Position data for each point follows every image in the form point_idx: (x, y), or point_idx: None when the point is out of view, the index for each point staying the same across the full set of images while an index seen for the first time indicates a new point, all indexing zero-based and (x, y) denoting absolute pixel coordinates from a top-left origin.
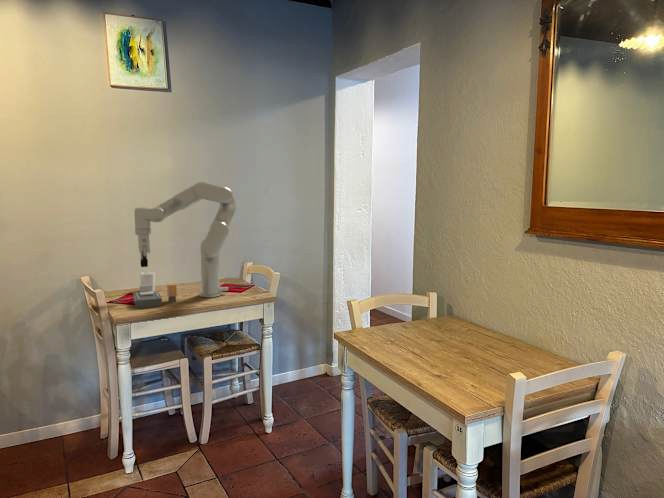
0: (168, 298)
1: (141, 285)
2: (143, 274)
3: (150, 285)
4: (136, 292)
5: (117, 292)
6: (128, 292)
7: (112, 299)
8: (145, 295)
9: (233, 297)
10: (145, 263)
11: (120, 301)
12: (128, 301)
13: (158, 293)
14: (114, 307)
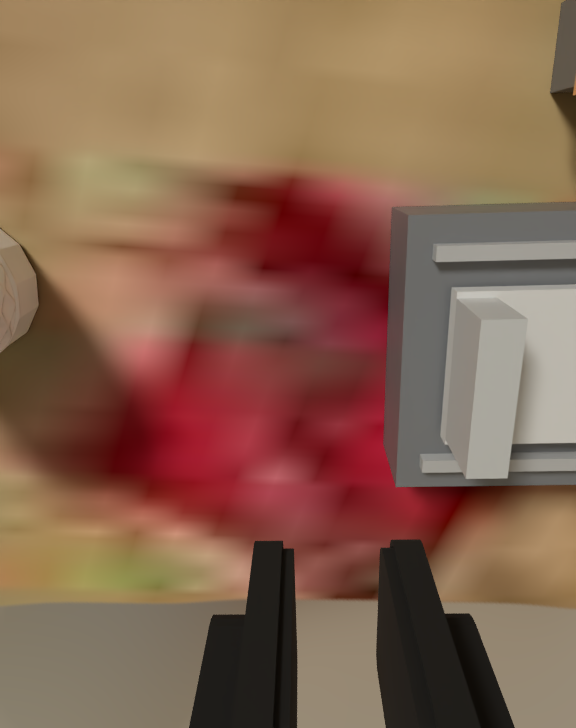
0: (563, 89)
1: (470, 457)
2: None
3: (524, 344)
4: (440, 467)
5: (14, 553)
6: (30, 471)
7: None
8: None
9: None
10: (481, 668)
11: (367, 541)
12: None
13: (551, 220)
14: (553, 584)
